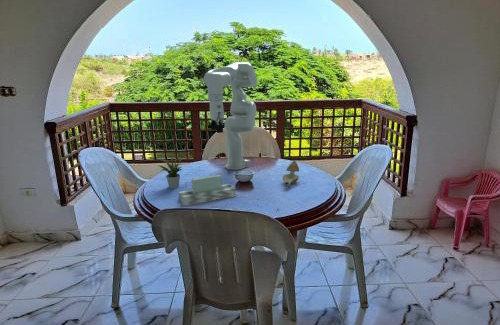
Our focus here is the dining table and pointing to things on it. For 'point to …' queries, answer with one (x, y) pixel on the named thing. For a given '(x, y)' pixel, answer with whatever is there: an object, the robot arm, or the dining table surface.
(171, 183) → the house plant
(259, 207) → the dining table surface
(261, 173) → the dining table surface
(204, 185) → the door panel
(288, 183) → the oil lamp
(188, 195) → the door track
